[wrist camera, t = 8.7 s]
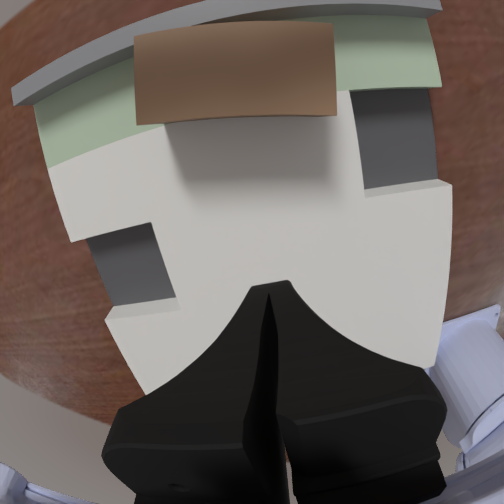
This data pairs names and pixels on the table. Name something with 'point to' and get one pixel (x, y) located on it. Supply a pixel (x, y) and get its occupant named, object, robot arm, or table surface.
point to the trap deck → (257, 189)
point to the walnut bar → (235, 71)
